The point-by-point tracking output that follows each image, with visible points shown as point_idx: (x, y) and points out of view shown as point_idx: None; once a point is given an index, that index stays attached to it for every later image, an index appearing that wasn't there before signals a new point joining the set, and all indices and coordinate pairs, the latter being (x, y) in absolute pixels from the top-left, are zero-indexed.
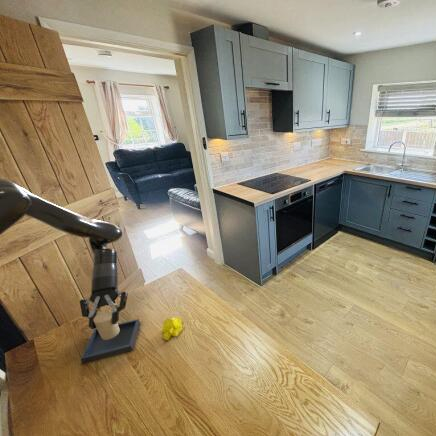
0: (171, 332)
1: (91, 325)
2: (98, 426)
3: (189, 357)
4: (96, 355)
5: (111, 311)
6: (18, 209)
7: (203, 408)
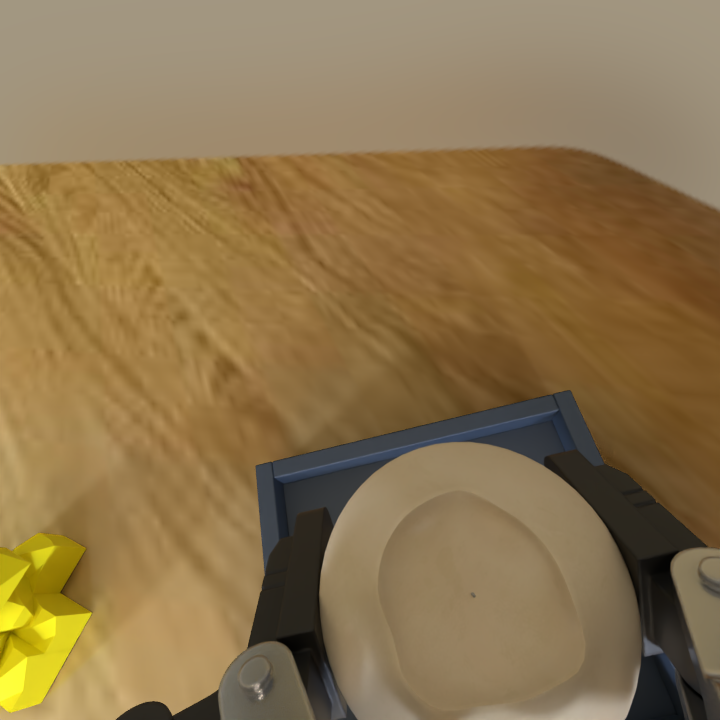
0: None
1: (584, 469)
2: (286, 165)
3: None
4: (471, 414)
5: (365, 706)
6: None
7: None
